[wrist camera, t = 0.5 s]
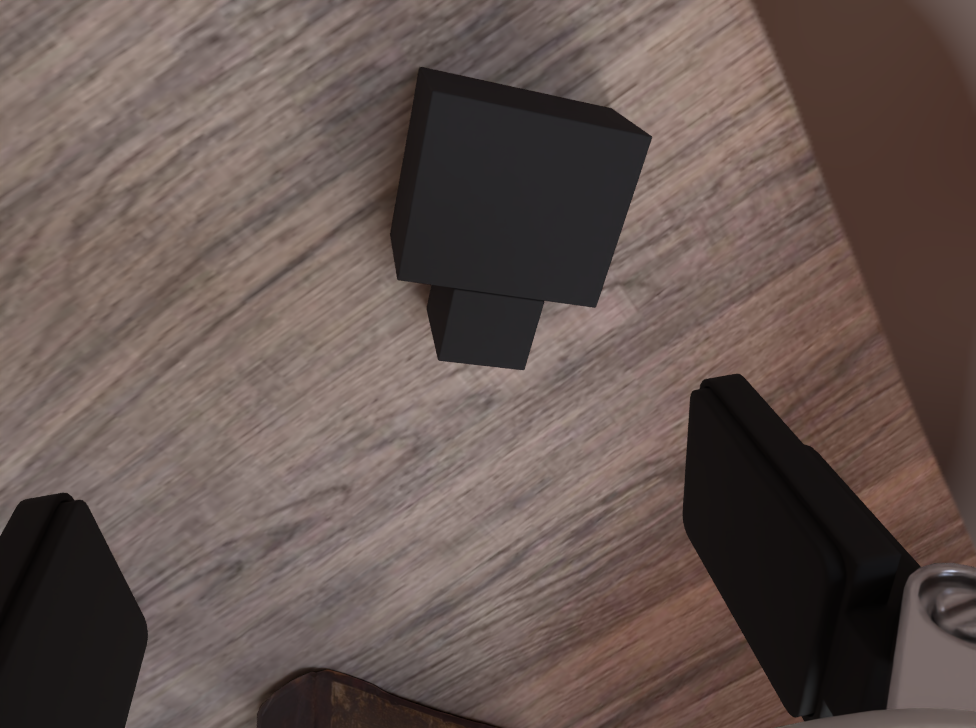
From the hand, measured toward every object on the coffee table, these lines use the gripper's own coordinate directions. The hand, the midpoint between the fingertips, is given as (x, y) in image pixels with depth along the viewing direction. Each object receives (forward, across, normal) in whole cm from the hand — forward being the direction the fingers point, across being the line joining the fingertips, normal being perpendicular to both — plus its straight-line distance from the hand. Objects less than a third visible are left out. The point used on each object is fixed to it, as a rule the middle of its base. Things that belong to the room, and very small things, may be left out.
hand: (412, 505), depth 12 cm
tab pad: (+17, -4, +2) cm, 18 cm away
